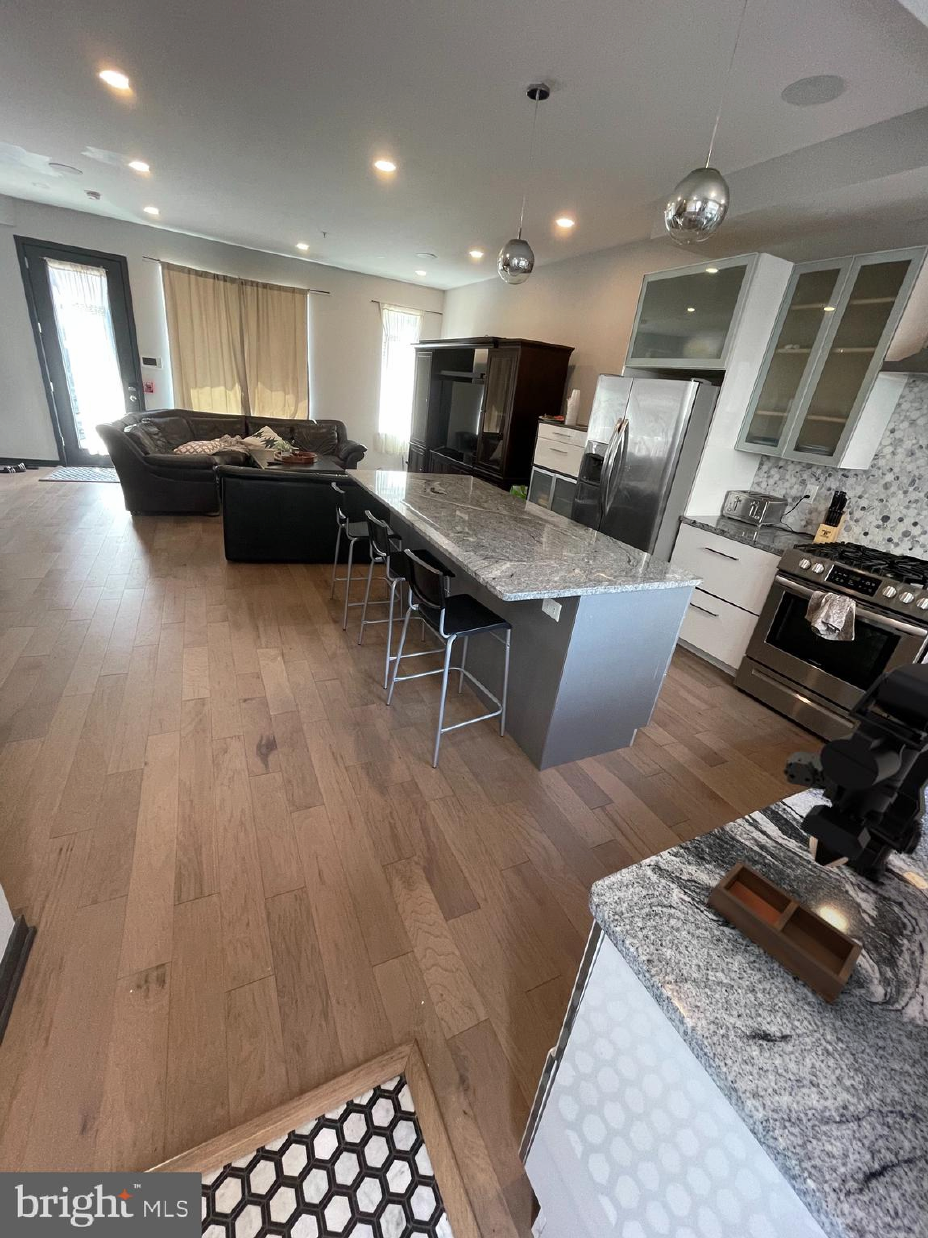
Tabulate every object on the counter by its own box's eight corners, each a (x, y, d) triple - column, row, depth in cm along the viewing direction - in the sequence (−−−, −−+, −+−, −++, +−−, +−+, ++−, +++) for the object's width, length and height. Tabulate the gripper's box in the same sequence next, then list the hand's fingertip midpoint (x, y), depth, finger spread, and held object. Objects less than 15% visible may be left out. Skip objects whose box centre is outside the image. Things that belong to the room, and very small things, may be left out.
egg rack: (731, 876, 75) (740, 859, 73) (851, 965, 64) (863, 947, 63) (706, 904, 70) (714, 886, 68) (831, 1005, 59) (844, 986, 58)
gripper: (828, 713, 75) (787, 795, 81) (782, 752, 64) (738, 844, 70) (921, 756, 68) (868, 842, 74) (888, 809, 56) (828, 906, 62)
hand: (824, 855), depth 70 cm, fingers closed on egg, 4 cm apart
